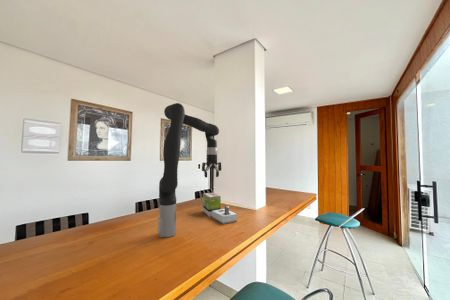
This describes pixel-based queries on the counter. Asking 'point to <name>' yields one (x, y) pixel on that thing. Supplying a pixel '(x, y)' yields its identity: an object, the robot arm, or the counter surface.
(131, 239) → the counter surface
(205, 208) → the tea box
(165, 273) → the counter surface
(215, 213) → the bore block
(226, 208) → the pin
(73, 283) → the counter surface
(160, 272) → the counter surface
